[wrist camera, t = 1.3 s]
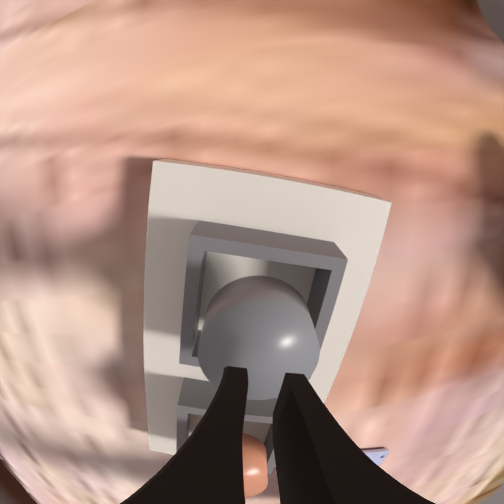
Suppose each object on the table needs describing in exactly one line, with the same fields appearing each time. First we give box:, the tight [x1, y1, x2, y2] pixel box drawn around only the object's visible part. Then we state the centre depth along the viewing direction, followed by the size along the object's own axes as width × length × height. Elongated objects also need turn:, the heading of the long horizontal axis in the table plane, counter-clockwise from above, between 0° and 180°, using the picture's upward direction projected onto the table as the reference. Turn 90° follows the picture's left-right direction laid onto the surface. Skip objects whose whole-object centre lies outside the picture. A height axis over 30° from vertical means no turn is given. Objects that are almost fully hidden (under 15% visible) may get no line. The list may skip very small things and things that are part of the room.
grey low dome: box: [198, 276, 320, 400], centre depth 13 cm, size 5×5×2 cm
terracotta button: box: [242, 433, 268, 498], centre depth 16 cm, size 5×5×2 cm
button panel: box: [143, 159, 391, 475], centre depth 18 cm, size 22×12×4 cm, turn 171°
